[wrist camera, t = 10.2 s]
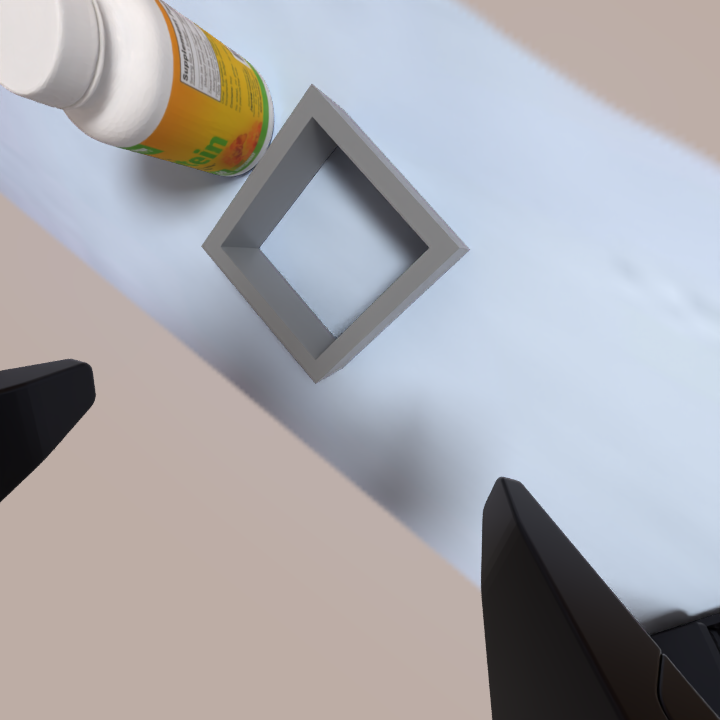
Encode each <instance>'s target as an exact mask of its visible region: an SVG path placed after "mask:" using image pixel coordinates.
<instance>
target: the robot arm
mask: <svg viewBox="0 0 720 720" xmlns="http://www.w3.org/2000/svg"><path fill="white" fill-rule="evenodd" d="M95 397H96V393H95V386H94V379H93V371H92V368H91V366H90V365H89V364H87V363H85V362H81V361H78V360H74V359H65V360H60V361H54V362H48V363H42V364H37V365H31V366H25V367H19V368H14V369H8V370H2V371H0V502H1V501H2V500H3V499H4V498H5V497H6V496H7V495H8V494H10V493H11V492H12V491H13V490H14V488H16V487H17V486H18V485H19V484H20V483H21V482H22V481H23V480H24V479H25V478H26V477H27V476H28V475H29V474H30V473H32V472H33V471H34V470H35V469H36V468H37V467H38V466H39V465H40V463H42V462H43V460H45V459H46V458H47V456H48V455H49V454H50V453H51V452H52V451H53V450H54V449H55V448H56V446H57V445H58V444H59V443H60V442H61V441H62V440H63V438H64V437H65V436H66V435H67V433H69V431H70V430H71V429H72V428H73V427H74V426H75V425H76V423H77V422H78V421H79V420H80V419H81V418H82V416H83V415H84V414H85V413H86V412H87V411H88V410H89V409H90V407H91V406H92V405H93V403H94V401H95ZM481 594H482V607H483V619H484V629H485V641H486V652H487V664H488V675H489V687H490V697H491V710H492V720H720V613H719V614H716V615H713V616H709V617H706V618H703V619H700V620H697V621H694V622H691V623H688V624H685V625H682V626H678V627H675V628H672V629H669V630H666V631H663V632H660V633H657V634H654V635H651V636H649V635H648V633H647V632H646V631H645V630H644V629H643V627H642V626H641V625H640V624H639V623H638V621H637V620H636V619H635V618H634V617H633V615H632V614H631V613H630V612H629V611H628V610H627V608H626V607H625V606H624V605H623V604H622V602H621V601H620V600H619V599H618V598H617V596H616V595H615V594H614V593H613V592H612V590H611V589H610V588H609V587H608V586H607V584H606V583H605V582H604V581H603V580H602V578H601V577H600V576H599V575H598V574H597V572H596V571H595V570H594V569H593V568H592V567H591V565H590V564H589V563H588V562H587V561H586V559H585V558H584V557H583V556H582V555H581V553H580V552H579V551H578V550H577V549H576V547H575V546H574V545H573V544H572V543H571V541H570V540H569V539H568V538H567V537H566V535H565V534H564V533H563V532H562V531H561V529H560V528H559V527H558V526H557V525H556V524H555V522H554V521H553V520H552V519H551V518H550V516H549V515H548V514H547V513H546V512H545V510H544V509H543V508H542V507H541V506H540V504H539V503H538V502H537V501H536V500H535V498H534V497H533V496H532V495H531V494H530V492H529V491H528V490H527V489H526V488H525V486H524V485H523V484H522V483H521V482H519V481H517V480H513V479H510V478H506V477H499V478H498V479H497V480H496V482H495V484H494V486H493V488H492V490H491V493H490V495H489V497H488V499H487V501H486V503H485V506H484V509H483V519H482V560H481Z"/></svg>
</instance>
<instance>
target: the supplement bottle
mask: <svg viewBox="0 0 720 720" xmlns="http://www.w3.org/2000/svg"><path fill="white" fill-rule="evenodd" d="M0 84H1V85H2V86H3V87H5V88H6V89H7V90H9V91H10V92H12V93H14V94H16V95H19V96H21V97H24V98H27V99H30V100H33V101H36V102H39V103H42V104H45V105H48V106H51V107H56V108H59V109H62V110H64V112H65V113H66V115H67V116H68V118H69V119H70V120H71V121H72V122H73V123H74V124H75V125H76V126H77V127H78V128H79V129H80V130H81V131H82V132H84V133H85V134H86V135H88V136H90V137H91V138H93V139H95V140H97V141H100V142H102V143H105V144H108V145H112V146H115V147H118V148H122V149H126V150H130V151H134V152H137V153H141V154H145V155H148V156H152V157H156V158H159V159H163V160H166V161H170V162H173V163H177V164H181V165H184V166H188V167H191V168H195V169H198V170H202V171H205V172H209V173H212V174H216V175H221V176H238V175H241V174H243V173H245V172H247V171H249V170H250V169H252V168H253V167H254V166H255V165H256V164H257V163H258V162H259V161H260V159H261V158H262V156H263V155H264V153H265V152H266V150H267V148H268V145H269V143H270V140H271V136H272V132H273V125H274V112H273V103H272V98H271V95H270V92H269V89H268V86H267V84H266V82H265V80H264V79H263V77H262V76H261V74H260V73H259V72H258V71H257V70H256V68H255V67H253V66H252V65H251V64H250V63H249V62H248V61H246V60H245V59H244V58H243V57H241V56H240V55H239V54H237V53H236V52H234V51H233V50H231V49H230V48H229V47H227V46H226V45H224V44H223V43H222V42H220V41H219V40H217V39H216V38H214V37H213V36H212V35H210V34H209V33H207V32H206V31H205V30H203V29H202V28H200V27H199V26H198V25H196V24H195V23H193V22H192V21H191V20H189V19H188V18H186V17H185V16H183V15H182V14H180V13H179V12H178V11H176V10H175V9H173V8H172V7H171V6H169V5H168V4H166V3H165V2H164V1H162V0H0Z"/></svg>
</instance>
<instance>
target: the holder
mask: <svg viewBox="0 0 720 720" xmlns="http://www.w3.org/2000/svg"><path fill="white" fill-rule="evenodd" d="M337 145H338V146H339V147H340V148H341V149H342V150H343V152H344V153H345V154H346V155H347V156H348V157H349V158H350V159H351V160H352V162H353V163H354V164H355V165H356V166H357V167H358V168H359V169H360V171H361V172H362V173H363V174H364V175H365V176H366V177H367V178H368V180H369V181H370V182H371V183H372V184H373V185H374V186H375V187H376V189H377V190H378V191H379V192H380V193H381V194H382V195H383V196H384V197H385V199H386V200H387V201H388V202H389V203H390V204H391V205H392V206H393V208H394V209H395V210H396V211H397V212H398V213H399V214H400V215H401V217H402V218H403V219H404V220H405V221H406V222H407V223H408V224H409V225H410V227H411V228H412V229H413V230H414V231H415V232H416V233H417V234H418V236H419V237H420V238H421V239H422V240H423V241H424V242H425V243H426V245H427V246H428V247H429V249H428V250H427V251H426V252H424V253H423V254H422V255H421V256H420V257H419V258H418V259H417V260H416V261H415V262H414V263H413V264H412V265H411V266H410V267H409V268H408V269H407V270H406V271H405V272H404V273H403V274H402V275H401V276H400V277H399V278H398V279H397V280H396V281H395V282H394V283H393V284H392V285H391V286H390V287H389V288H388V289H387V290H386V291H385V292H384V293H383V294H382V295H381V296H380V297H379V298H378V299H377V300H376V301H375V302H374V303H373V304H372V305H371V306H370V307H369V308H368V309H367V310H366V311H365V312H364V313H363V314H362V315H361V316H360V317H359V318H358V319H357V320H356V321H355V322H354V323H352V324H351V325H350V326H349V327H348V328H347V329H346V330H345V331H344V332H343V333H342V334H341V335H340V336H339V337H338V338H337V339H335V337H334V336H333V335H332V334H331V333H330V332H329V330H328V329H327V328H326V327H325V326H324V325H323V323H322V322H321V321H320V320H319V319H318V317H317V316H316V315H315V314H314V313H313V312H312V310H311V309H310V308H309V307H308V306H307V304H306V303H305V302H304V301H303V300H302V299H301V297H300V296H299V295H298V294H297V293H296V291H295V290H294V289H293V288H292V287H291V286H290V284H289V283H288V282H287V281H286V280H285V278H284V277H283V276H282V275H281V274H280V273H279V271H278V270H277V269H276V268H275V267H274V265H273V264H272V263H271V262H270V261H269V260H268V258H267V257H266V256H265V255H264V254H263V252H262V251H261V250H260V249H259V247H260V246H261V245H262V243H263V242H264V241H265V239H266V238H267V237H268V236H269V234H270V233H271V232H272V230H273V229H274V228H275V226H276V225H277V224H278V222H279V221H280V220H281V219H282V217H283V216H284V215H285V213H286V212H287V211H288V209H289V208H290V207H291V205H292V204H293V203H294V202H295V200H296V199H297V198H298V196H299V195H300V194H301V192H302V191H303V190H304V188H305V187H306V186H307V185H308V183H309V182H310V181H311V179H312V178H313V177H314V175H315V174H316V173H317V171H318V170H319V169H320V168H321V166H322V165H323V164H324V162H325V161H326V160H327V158H328V157H329V156H330V154H331V153H332V152H333V150H334V149H335V148H336V147H337ZM201 247H202V248H203V249H204V250H205V251H206V253H207V254H208V255H209V256H210V257H211V259H212V260H213V261H214V262H215V263H216V265H217V266H218V267H219V268H220V269H221V271H222V272H223V273H224V274H225V275H226V277H227V278H228V279H229V280H230V281H231V283H232V284H233V285H234V286H235V287H236V289H237V290H238V291H239V292H240V293H241V295H242V296H243V297H244V298H245V299H246V301H247V302H248V303H249V304H250V305H251V307H252V308H253V309H254V310H255V311H256V313H257V314H258V315H259V316H260V317H261V319H262V320H263V321H264V322H265V323H266V325H267V326H268V327H269V328H270V330H271V331H272V332H273V333H274V334H275V336H276V337H277V338H278V339H279V340H280V342H281V343H282V344H283V345H284V346H285V348H286V349H287V350H288V351H289V352H290V354H291V355H292V356H293V357H294V358H295V360H296V361H297V362H298V363H299V364H300V366H301V367H302V368H303V369H304V370H305V372H306V373H307V374H308V375H309V376H310V378H311V379H312V380H313V381H314V382H315V384H316V383H318V382H320V381H321V380H323V379H325V378H327V377H328V376H330V375H332V374H333V373H335V372H337V371H338V370H340V369H342V368H343V367H344V366H345V365H346V364H348V363H349V362H350V361H351V360H352V359H353V358H354V357H355V356H356V355H357V354H358V353H359V352H360V351H362V350H363V349H364V348H365V347H366V346H367V345H368V344H369V343H370V342H371V341H372V340H373V339H374V338H376V337H377V336H378V335H379V334H380V333H381V332H382V331H383V330H384V329H385V328H386V327H387V326H388V325H390V324H391V323H392V322H393V321H394V320H395V319H396V318H397V317H398V316H399V315H400V314H401V313H402V312H404V311H405V310H406V309H407V308H408V307H409V306H410V305H411V304H412V303H413V302H414V301H415V300H416V299H418V298H419V297H420V296H421V295H422V294H423V293H424V292H425V291H426V290H427V289H428V288H429V287H430V286H432V285H433V284H434V283H435V282H436V281H437V280H438V279H439V278H440V277H441V276H442V275H443V274H444V273H446V272H447V271H448V270H449V269H450V268H451V267H452V266H453V265H454V264H455V263H456V262H457V261H458V260H460V259H461V258H462V257H463V256H464V255H465V254H466V253H467V252H468V251H469V250H470V249H469V248H468V247H467V246H466V245H465V244H464V242H463V241H462V240H461V239H460V238H459V237H458V236H457V235H456V234H455V232H454V231H453V230H452V229H451V228H450V227H449V226H448V225H447V224H446V222H445V221H444V220H443V219H442V218H441V217H440V216H439V215H438V214H437V213H436V211H435V210H434V209H433V208H432V207H431V206H430V205H429V204H428V203H427V201H426V200H425V199H424V198H423V197H422V196H421V195H420V194H419V193H418V191H417V190H416V189H415V188H414V187H413V186H412V185H411V184H410V183H409V181H408V180H407V179H406V178H405V177H404V176H403V175H402V174H401V173H400V172H399V170H398V169H397V168H396V167H395V166H394V165H393V164H392V163H391V162H390V160H389V159H388V158H387V157H386V156H385V155H384V154H383V153H382V152H381V150H380V149H379V148H378V147H377V146H376V145H375V144H374V143H373V142H372V141H371V139H370V138H369V137H368V136H367V135H366V134H365V133H364V132H363V131H362V129H361V128H360V127H359V126H358V125H357V124H356V123H355V122H354V121H353V119H352V118H351V117H350V116H349V115H348V114H347V113H346V112H345V111H344V110H343V109H342V108H341V107H340V106H339V105H337V104H336V103H335V102H334V101H332V100H331V99H330V98H329V97H327V96H326V95H325V94H324V93H323V92H321V91H320V90H319V89H318V88H316V87H315V86H314V85H313V84H311V86H310V87H309V88H308V90H307V91H306V93H305V94H304V96H303V97H302V99H301V100H300V102H299V103H298V105H297V106H296V108H295V109H294V111H293V112H292V114H291V115H290V116H289V118H288V119H287V121H286V122H285V124H284V125H283V127H282V128H281V130H280V131H279V133H278V134H277V136H276V137H275V139H274V140H273V142H272V143H271V144H270V146H269V147H268V149H267V150H266V152H265V153H264V155H263V156H262V158H261V159H260V161H259V162H258V164H257V165H256V167H255V168H254V170H253V171H252V172H251V174H250V175H249V177H248V178H247V180H246V181H245V183H244V184H243V186H242V187H241V189H240V190H239V192H238V193H237V195H236V196H235V198H234V199H233V200H232V202H231V203H230V205H229V206H228V208H227V209H226V211H225V212H224V214H223V215H222V217H221V218H220V220H219V221H218V223H217V224H216V226H215V227H214V229H213V230H212V231H211V233H210V234H209V236H208V237H207V239H206V240H205V242H204V243H203V245H202V246H201Z"/></svg>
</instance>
